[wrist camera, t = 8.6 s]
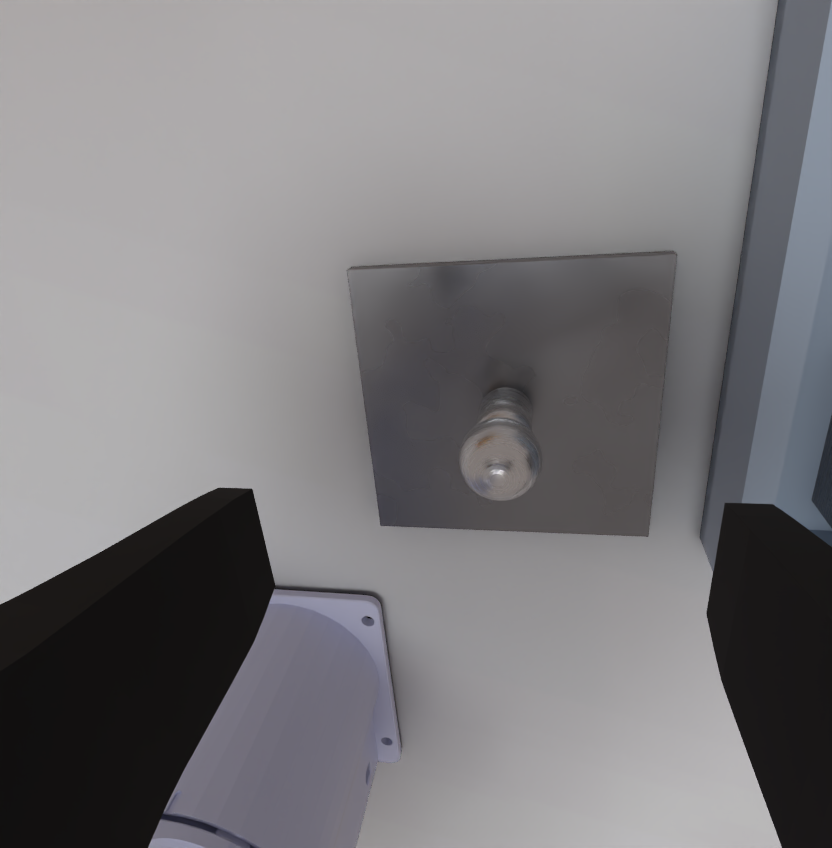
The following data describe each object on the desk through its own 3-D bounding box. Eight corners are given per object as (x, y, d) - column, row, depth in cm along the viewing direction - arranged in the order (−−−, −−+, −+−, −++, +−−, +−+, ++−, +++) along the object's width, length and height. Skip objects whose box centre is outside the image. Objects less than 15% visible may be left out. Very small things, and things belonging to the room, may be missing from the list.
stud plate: (645, 527, 20) (672, 630, 16) (383, 517, 22) (348, 607, 18) (673, 251, 16) (718, 293, 12) (351, 266, 18) (295, 309, 14)
